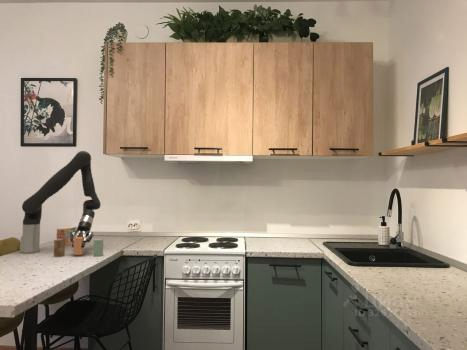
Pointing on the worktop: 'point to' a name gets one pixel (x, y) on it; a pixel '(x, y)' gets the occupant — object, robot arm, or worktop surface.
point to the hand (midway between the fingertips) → (77, 247)
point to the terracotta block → (78, 245)
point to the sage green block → (98, 247)
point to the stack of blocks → (66, 234)
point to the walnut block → (59, 247)
